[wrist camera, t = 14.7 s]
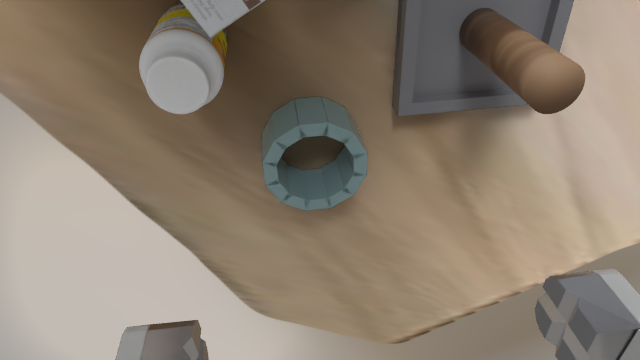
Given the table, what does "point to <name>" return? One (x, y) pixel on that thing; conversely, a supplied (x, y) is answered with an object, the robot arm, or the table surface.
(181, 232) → the table surface
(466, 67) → the tray
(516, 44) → the dowel
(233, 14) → the skincare box
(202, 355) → the robot arm
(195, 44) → the supplement bottle
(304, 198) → the tube
